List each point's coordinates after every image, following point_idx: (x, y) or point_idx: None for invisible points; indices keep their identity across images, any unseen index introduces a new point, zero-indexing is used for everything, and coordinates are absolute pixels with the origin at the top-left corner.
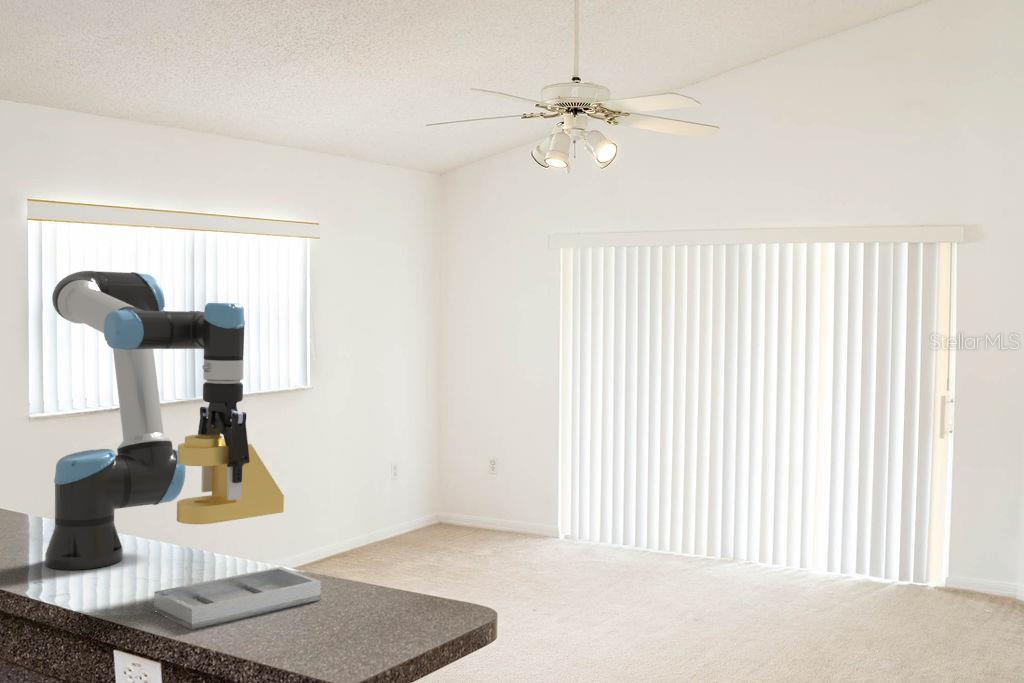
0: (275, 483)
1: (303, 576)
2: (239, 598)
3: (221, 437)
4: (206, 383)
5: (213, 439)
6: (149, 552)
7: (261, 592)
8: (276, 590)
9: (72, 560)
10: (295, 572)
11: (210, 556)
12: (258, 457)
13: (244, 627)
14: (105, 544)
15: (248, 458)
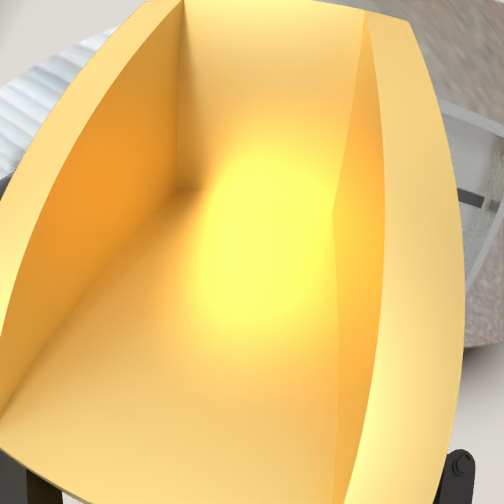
0: (426, 76)
1: (487, 125)
2: (466, 291)
3: None
4: None
5: None
6: (20, 129)
7: (480, 252)
8: (495, 230)
9: None
10: (456, 106)
11: (83, 55)
12: (456, 371)
13: (480, 290)
14: None
15: (471, 478)
